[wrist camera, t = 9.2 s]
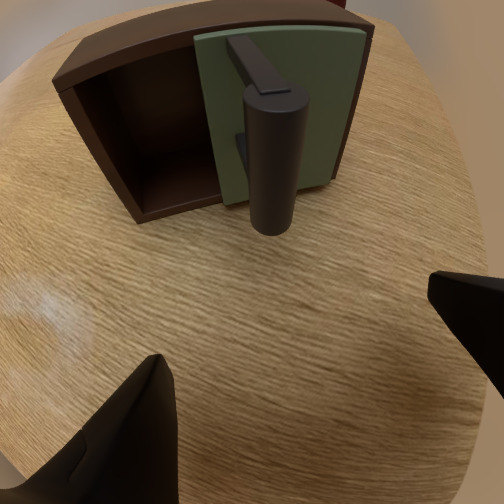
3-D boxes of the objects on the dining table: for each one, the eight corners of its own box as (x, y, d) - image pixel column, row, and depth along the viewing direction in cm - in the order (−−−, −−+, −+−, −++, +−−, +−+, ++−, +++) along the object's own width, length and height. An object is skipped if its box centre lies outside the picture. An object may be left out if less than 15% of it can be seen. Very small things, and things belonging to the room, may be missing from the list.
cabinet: (335, 179, 19) (376, 25, 8) (137, 224, 18) (50, 80, 7) (305, 126, 21) (319, -4, 11) (136, 163, 20) (83, 38, 10)
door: (363, 254, 15) (455, 105, 6) (244, 286, 15) (217, 115, 5) (326, 177, 18) (360, 28, 8) (222, 198, 17) (192, 35, 8)
